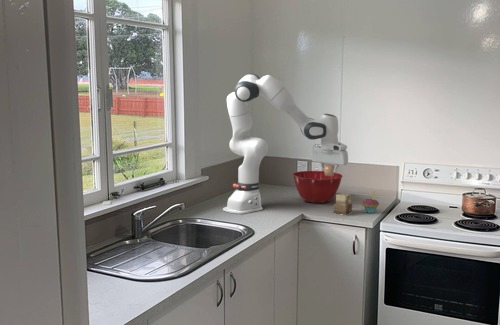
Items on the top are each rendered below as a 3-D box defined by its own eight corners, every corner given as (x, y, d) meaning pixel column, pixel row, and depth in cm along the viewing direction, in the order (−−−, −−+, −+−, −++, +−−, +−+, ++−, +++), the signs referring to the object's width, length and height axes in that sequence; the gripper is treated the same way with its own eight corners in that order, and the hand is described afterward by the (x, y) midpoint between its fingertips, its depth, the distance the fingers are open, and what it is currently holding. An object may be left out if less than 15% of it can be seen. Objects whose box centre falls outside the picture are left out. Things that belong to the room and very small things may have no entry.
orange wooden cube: (331, 176, 264) (331, 166, 263) (322, 175, 267) (322, 165, 267) (336, 174, 268) (336, 165, 267) (327, 173, 271) (327, 164, 271)
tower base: (345, 215, 265) (345, 206, 264) (333, 213, 269) (333, 204, 268) (351, 213, 270) (352, 203, 270) (340, 211, 275) (340, 201, 274)
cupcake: (380, 211, 273) (381, 189, 271) (375, 215, 266) (376, 192, 264) (365, 209, 278) (366, 187, 276) (359, 212, 271) (360, 190, 269)
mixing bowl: (319, 193, 318) (319, 168, 315) (352, 202, 294) (353, 175, 292) (282, 198, 302) (282, 173, 300) (314, 208, 279) (314, 180, 276)
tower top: (345, 205, 265) (345, 196, 264) (335, 204, 269) (336, 194, 268) (350, 204, 269) (350, 194, 268) (341, 202, 273) (341, 193, 272)
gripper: (309, 144, 269) (309, 170, 272) (343, 147, 256) (343, 175, 259) (315, 143, 274) (315, 168, 276) (349, 146, 261) (349, 173, 263)
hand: (329, 171), depth 267 cm, fingers closed on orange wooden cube, 5 cm apart
